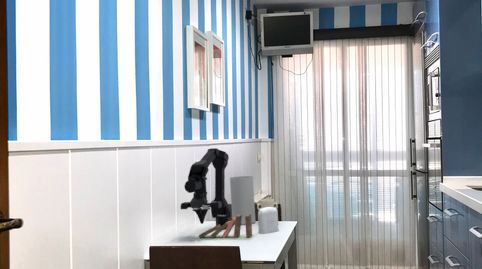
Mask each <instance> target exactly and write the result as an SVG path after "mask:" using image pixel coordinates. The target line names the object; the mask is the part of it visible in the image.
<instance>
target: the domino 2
mask: <svg viewBox="0 0 482 269" xmlns="http://www.w3.org/2000/svg"><path fill="white" fill-rule="evenodd" d="M230 222H231V220H229V221H228V222H226V223H225V224H224V225H222V226H221V227H220V228H219V229H217V230H215V231H213V232H212V233H210V234H209V235H210V236H211V238H214V237H215V236H216V235H220V234H221V233H222V232H223V231H225V230H224V229H225V228H226V227H227V226H228V225H229V223H230Z"/></svg>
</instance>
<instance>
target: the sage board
mask: <svg viewBox="0 0 482 269" xmlns="http://www.w3.org/2000/svg"><path fill="white" fill-rule="evenodd" d="M210 235H211V234H208V235H206V236H204V237H202V238H199V236H198V235H197V236H196V237H194V238H193V239H191V241H251V240H252V239H253V238H254V237H255V236H256V235H257V234H256V233H252V237H251V238H246V233H244V234H242V233H240V236H239V237H238V238H234V234H228V236H227V237H226V238H223V237H222V235H223V234H218V235H216V236H215V237H214V238H211V236H210Z"/></svg>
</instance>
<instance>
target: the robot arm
mask: <svg viewBox="0 0 482 269" xmlns="http://www.w3.org/2000/svg"><path fill="white" fill-rule="evenodd" d="M228 163H229V154H228V153H227V152H226V151H223V150H221V149H218V148H216V147H215V148H213V147H211V148H209V149H208V148H207V151H206V152H205V154H204V155H203V157H202V158H200V160H199V161H196V162H194V163H192V165H191V166H190V168H189V173H188V176H187V181H185V183H184V187H183V188H184V190H185V191H186V192H187V193H190V194H191V193H193V194H192V198H191V199H190V201H184V202H182V203H180V210H188V209H189V208H191V210H192V211H193V212H195V213H196V215H197V218H198V220H199V222H200V224H201V225H203V224H204V222H205V218H206V216H207V214H208V212H209V211H208V210H210V211H211V216H212V218H213V219H215V226H217V225H219V224H220V226H222V225H224V224H225V223H226V222H228V221H230V220H229V218H232V210H230V209H231V208H229V203H228V201H227V200H226V196H225V193H226V192H225V189H226V188H225V183H226V182H225V174H226V173H225V170H226V169H227V166H228ZM210 165H212V166H213V168H214V199H213V200H211V202H208V201H209V200H208V197H207V196H208V195H207V194H208V191H207V180H208V178H207V174H208V172H209V167H210ZM227 227H228V226H227ZM227 227H226V228H227ZM226 228H225V229H224V230H223V231H225V230H226Z"/></svg>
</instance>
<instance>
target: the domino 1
mask: <svg viewBox="0 0 482 269" xmlns="http://www.w3.org/2000/svg"><path fill="white" fill-rule="evenodd" d="M220 227H221V226H220V224H219V225H217V226H216V225H215V226H213V227H211V228H209V229H207V230H206V231H204V232H201V233H200V234H198V235H197V236H199V238H202V237H204V236H206V235H211V234H212V233H214V232H215V231H216V230H217V229H219V228H220Z"/></svg>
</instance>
